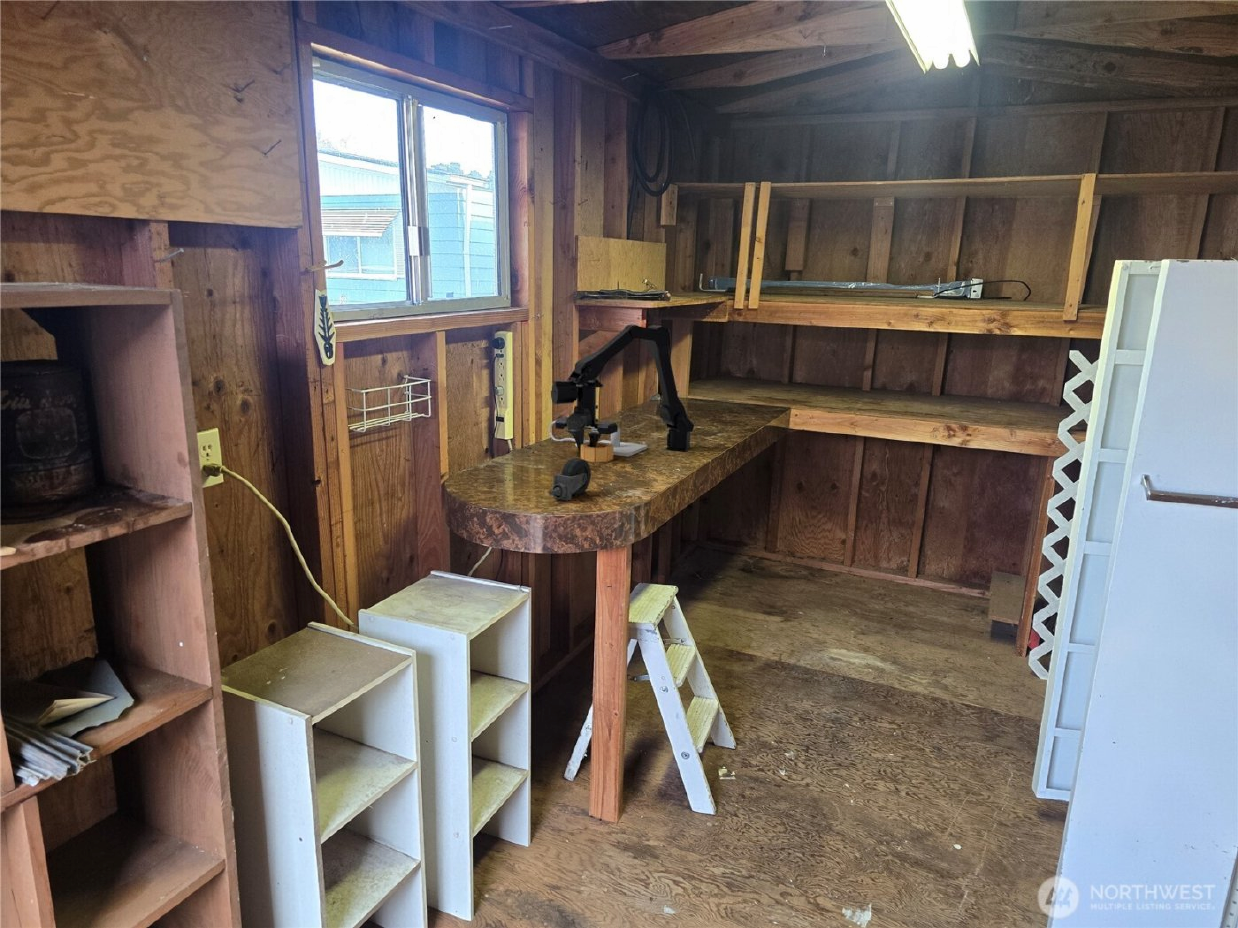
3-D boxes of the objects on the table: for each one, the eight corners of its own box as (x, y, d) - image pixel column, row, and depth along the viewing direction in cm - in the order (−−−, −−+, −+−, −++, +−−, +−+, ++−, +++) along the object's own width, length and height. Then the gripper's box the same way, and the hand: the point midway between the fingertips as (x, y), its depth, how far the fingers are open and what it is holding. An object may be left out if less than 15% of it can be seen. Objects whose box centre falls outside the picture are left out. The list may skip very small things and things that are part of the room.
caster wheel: (576, 492, 198) (540, 500, 185) (578, 455, 196) (542, 460, 183) (594, 496, 195) (559, 504, 182) (597, 458, 193) (561, 463, 181)
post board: (647, 448, 247) (647, 428, 245) (628, 456, 234) (628, 435, 233) (603, 442, 254) (603, 423, 252) (582, 450, 241) (582, 430, 240)
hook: (557, 436, 263) (603, 453, 252) (538, 440, 255) (585, 458, 245) (559, 415, 260) (606, 432, 250) (540, 419, 253) (587, 436, 242)
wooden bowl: (617, 457, 233) (617, 444, 232) (603, 463, 225) (603, 449, 224) (590, 453, 237) (591, 441, 236) (575, 459, 229) (576, 446, 228)
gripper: (545, 403, 226) (545, 455, 230) (601, 408, 218) (600, 462, 222) (564, 398, 236) (564, 448, 239) (619, 403, 228) (618, 455, 231)
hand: (585, 453), depth 233 cm, fingers open, 3 cm apart
